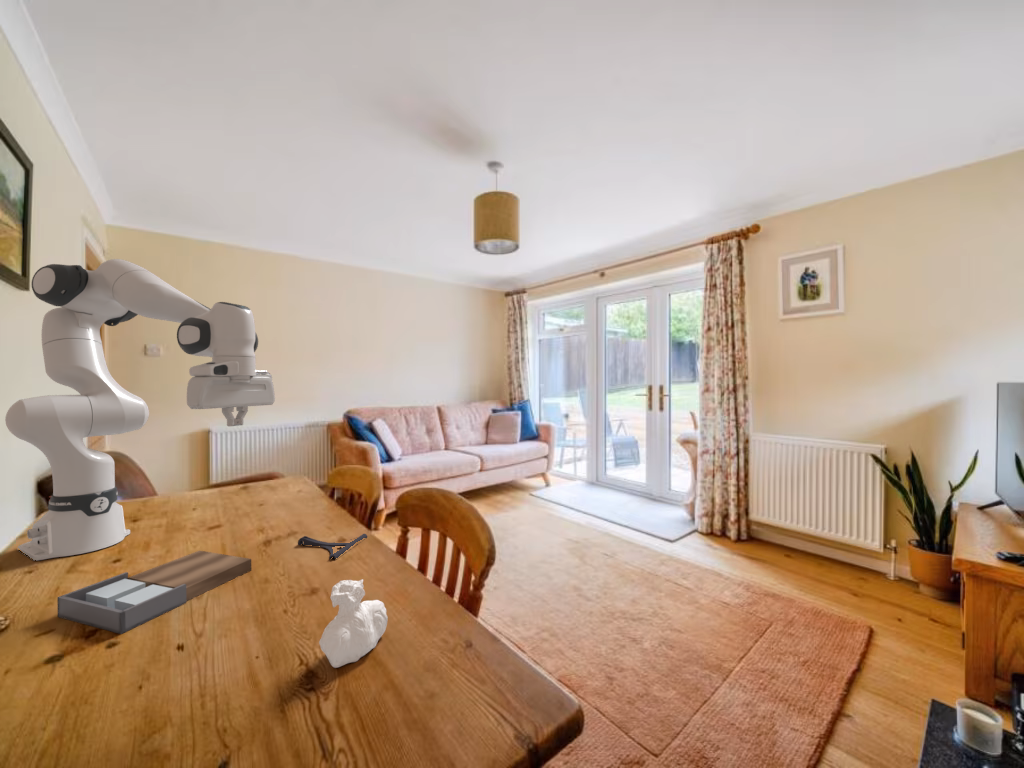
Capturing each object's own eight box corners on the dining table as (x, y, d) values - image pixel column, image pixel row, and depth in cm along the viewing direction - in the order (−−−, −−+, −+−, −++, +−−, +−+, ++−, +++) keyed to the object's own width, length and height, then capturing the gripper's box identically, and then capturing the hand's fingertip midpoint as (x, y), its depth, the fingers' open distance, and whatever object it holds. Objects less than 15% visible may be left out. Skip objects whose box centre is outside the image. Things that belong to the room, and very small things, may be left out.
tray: (57, 616, 74) (57, 597, 74) (126, 589, 83) (125, 572, 83) (121, 634, 68) (120, 613, 68) (186, 602, 78) (186, 584, 78)
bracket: (317, 536, 113) (317, 526, 113) (367, 539, 111) (367, 529, 111) (279, 559, 99) (278, 547, 99) (335, 563, 96) (335, 551, 96)
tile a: (85, 606, 76) (85, 593, 76) (125, 590, 82) (124, 578, 82) (107, 611, 74) (106, 598, 74) (145, 595, 80) (145, 582, 80)
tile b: (114, 613, 74) (114, 600, 74) (153, 596, 79) (152, 584, 79) (137, 619, 72) (137, 605, 72) (174, 601, 77) (174, 588, 77)
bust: (381, 641, 69) (351, 579, 72) (408, 622, 67) (376, 559, 70) (318, 688, 59) (286, 614, 62) (348, 669, 56) (313, 592, 59)
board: (128, 589, 83) (128, 577, 83) (199, 561, 96) (199, 550, 96) (184, 602, 78) (184, 589, 78) (251, 570, 92) (251, 558, 92)
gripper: (262, 370, 112) (262, 421, 112) (181, 368, 92) (182, 430, 92) (280, 370, 110) (281, 422, 110) (201, 367, 90) (202, 430, 90)
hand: (235, 425), depth 101 cm, fingers closed
